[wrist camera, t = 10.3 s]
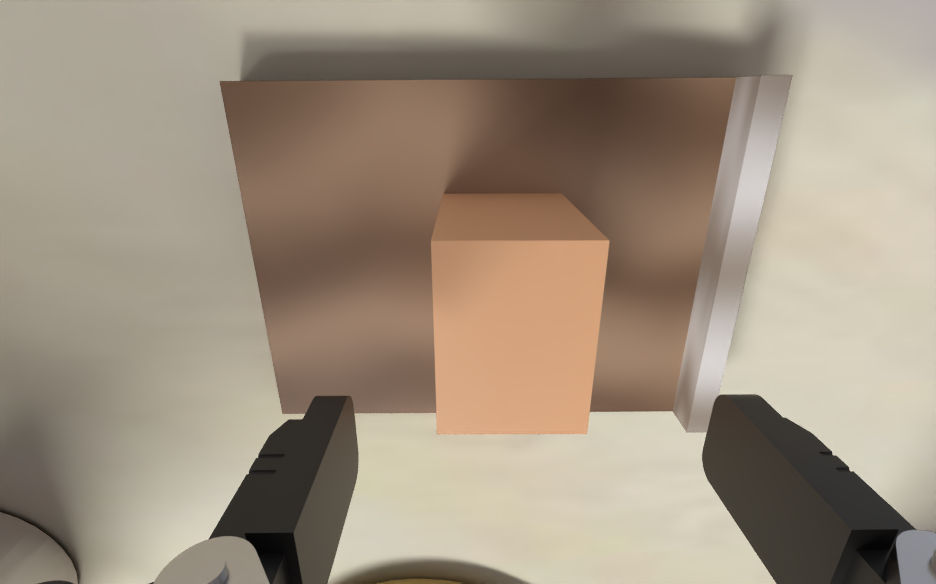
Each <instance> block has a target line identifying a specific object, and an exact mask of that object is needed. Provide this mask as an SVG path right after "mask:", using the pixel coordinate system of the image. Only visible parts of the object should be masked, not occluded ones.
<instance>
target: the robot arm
mask: <svg viewBox="0 0 936 584" xmlns="http://www.w3.org/2000/svg"><path fill="white" fill-rule="evenodd" d="M258 455H259V456H258V458H256V459H255V461H254V463H253V465H252V466H251V468H250V470H249V474H248V475H246V477H245V478H244V480H243V482H242V483H241V485H240V487H239V488H238V490H237V492H236V494H235V495H234V497H233V499H232V500H231V502H230V504H229V505H228V507H227V509H226V511H225V512H224V514H223V516H222V517H221V519H220V521H219V523H218V524H217V526H216V528H215V529H214V531H213V533H212V534H211V536H210V538H209V539H208V540H205V541H203V542H200V543H198V544H196V545H194V546H192V547H190V548H188V549H187V550H185V551H184V552H182V553H181V554H179V555H178V556H177V557H175V558H174V559H173V560H172V561H171V562H170V563H169V564H168V565H167V566H166V567H165V568H164V569H163V570H162V571H161V573H160V574H159V575H158V577H157V578H156V580H155V581H154V582H152V583H150V584H327V583H328V579H329V576H330V572H331V569H332V565H333V562H334V558H335V555H336V551H337V547H338V544H339V540H340V537H341V533H342V530H343V526H344V523H345V519H346V516H347V512H348V508H349V505H350V501H351V498H352V494H353V491H354V487H355V484H356V479H357V473H358V445H357V435H356V425H355V416H354V406H353V400H352V397H351V396H315V397H314V398H313V400H312V402H311V404H310V406H309V408H308V410H307V412H306V414H305V416H304V418H303V419H300V420H288V421H286V422H285V423H284V424H283V425H282V426H280V427H279V428H278V429H277V430H276V431H274V432H273V433H272V434H271V435H270V436H269V437H268V439H267V441H266V442H265V444H264V446H263V448H262V449H261V451H260V453H259V454H258ZM702 461H703V467H704V471H705V474H706V477H707V479H708V481H709V483H710V484H711V486H712V487H713V489H714V490H715V492H716V493H717V495H718V496H719V498H720V499H721V501H722V502H723V504H724V505H725V507H726V508H727V510H728V511H729V513H730V514H731V516H732V517H733V519H734V520H735V522H736V523H737V525H738V526H739V528H740V529H741V531H742V532H743V534H744V535H745V537H746V538H747V540H748V541H749V543H750V544H751V546H752V547H753V549H754V550H755V552H756V553H757V555H758V556H759V558H760V559H761V561H762V562H763V564H764V565H765V567H766V568H767V570H768V571H769V573H770V574H771V576H772V577H773V579H774V580H775V582H776V583H777V584H936V533H935V532H930V531H924V530H916V529H915V528H914V527H913V526H912V525H911V524H910V523H909V522H908V521H906V520H905V519H904V518H903V517H902V516H901V515H900V514H899V513H898V512H897V511H896V510H895V509H893V508H892V507H891V506H890V505H889V504H888V503H887V502H886V501H885V500H884V499H883V498H882V497H880V496H879V495H878V494H877V493H876V492H875V491H874V490H873V489H872V488H871V487H870V486H869V485H867V484H866V483H865V482H864V481H863V480H862V479H861V478H860V477H859V476H858V475H857V474H856V473H854V472H850V471H849V467H848V466H847V465H846V464H845V463H844V462H843V461H841V460H840V459H839V458H838V457H837V456H833V455H832V451H831V450H830V449H828V448H827V447H826V446H825V445H824V444H823V443H822V442H821V441H820V440H819V439H818V438H817V437H816V436H814V435H813V434H812V433H811V432H809V431H807V430H806V429H804V428H802V427H800V426H799V425H797V424H795V423H794V422H792V421H790V420H789V419H787V418H783V417H782V416H781V415H780V414H779V413H778V412H777V411H776V410H774V409H773V408H772V407H771V406H770V405H769V404H768V403H767V402H766V401H765V400H764V399H763V398H762V397H760V396H759V395H719V396H718V397H717V398H716V399H715V401H714V404H713V408H712V413H711V417H710V421H709V426H708V430H707V434H706V439H705V443H704V447H703V453H702ZM0 584H78V580H77V573H76V570H75V568H74V565H73V563H72V561H71V559H70V558H69V557H68V555H67V554H66V553H65V551H64V550H63V549H62V548H61V547H60V546H59V545H58V544H57V543H56V542H55V541H54V540H53V539H52V538H51V537H49V536H48V535H47V534H45V533H44V532H42V531H41V530H39V529H38V528H36V527H35V526H33V525H31V524H29V523H27V522H25V521H23V520H21V519H19V518H16V517H13V516H11V515H8V514H5V513H2V512H0Z"/></svg>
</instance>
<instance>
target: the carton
mask: <svg viewBox="0 0 936 584" xmlns="http://www.w3.org/2000/svg"><path fill="white" fill-rule="evenodd" d="M609 242H610V240H609V239H608V238H607V237H606V236H605V235H604V234H603V233H602V232H600V231H599V230H598V229H597V228H596V227H595V226H594V225H593V224H592V223H591V222H590V221H589V220H588V219H587V218H586V217H585V216H584V215H583V214H582V213H581V212H580V211H579V210H578V209H577V208H576V207H575V206H574V205H573V204H572V203H571V202H570V201H569V200H568V199H567V198H566V197H565V196H564V195H563V194H562V193H507V194H443V196H442V200H441V204H440V208H439V212H438V216H437V219H436V223H435V227H434V231H433V235H432V238H431V259H432V291H433V322H434V353H435V384H436V415H437V434H587V430H588V421H589V413H590V404H591V396H592V387H593V379H594V370H595V362H596V353H597V344H598V336H599V327H600V319H601V310H602V302H603V293H604V285H605V276H606V267H607V259H608V250H609Z"/></svg>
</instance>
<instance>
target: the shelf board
mask: <svg viewBox="0 0 936 584" xmlns="http://www.w3.org/2000/svg"><path fill="white" fill-rule="evenodd" d="M792 76H793V75H759V76H748V77H736V78H605V79H472V80H338V81H220V85H221V91H222V96H223V101H224V107H225V112H226V117H227V122H228V128H229V133H230V138H231V144H232V149H233V154H234V159H235V165H236V170H237V175H238V181H239V186H240V191H241V197H242V202H243V207H244V212H245V218H246V223H247V228H248V234H249V239H250V244H251V249H252V255H253V260H254V265H255V271H256V276H257V281H258V286H259V292H260V297H261V302H262V308H263V313H264V318H265V323H266V329H267V334H268V339H269V345H270V350H271V355H272V360H273V366H274V371H275V376H276V382H277V387H278V392H279V398H280V403H281V408H282V413H283V414H306V412H307V410H308V408H309V406H310V404H311V402H312V400H313V398H314V397H315V396H351V397H352V400H353V406H354V413H436V384H435V353H434V322H433V291H432V259H431V238H432V235H433V231H434V227H435V223H436V219H437V216H438V212H439V208H440V204H441V200H442V196H443V194H507V193H562V194H563V195H564V196H565V197H566V198H567V199H568V200H569V201H570V202H571V203H572V204H573V205H574V206H575V207H576V208H577V209H578V210H579V211H580V212H581V213H582V214H583V215H584V216H585V217H586V218H587V219H588V220H589V221H590V222H591V223H592V224H593V225H594V226H595V227H596V228H597V229H598V230H599V231H600V232H602V233H603V234H604V235H605V236H606V237H607V238H608V239H609V240H610V242H609V250H608V259H607V267H606V276H605V285H604V293H603V302H602V310H601V319H600V327H599V336H598V344H597V353H596V362H595V370H594V379H593V387H592V396H591V404H590V412H622V411H673V412H674V414H675V416H676V417H677V419H678V420H679V422H680V423H681V425H682V426H683V428H684V429H685V431H686V432H707V430H708V426H709V421H710V417H711V413H712V408H713V404H714V401H715V399H716V398H717V397H718V395H719V391H720V387H721V382H722V378H723V374H724V370H725V365H726V361H727V357H728V352H729V348H730V344H731V339H732V335H733V331H734V326H735V322H736V318H737V313H738V309H739V305H740V300H741V296H742V292H743V288H744V283H745V279H746V275H747V270H748V266H749V262H750V257H751V253H752V249H753V244H754V240H755V236H756V231H757V227H758V223H759V218H760V214H761V210H762V206H763V201H764V197H765V193H766V188H767V184H768V180H769V175H770V171H771V167H772V162H773V158H774V154H775V149H776V145H777V141H778V136H779V132H780V128H781V124H782V119H783V115H784V111H785V106H786V102H787V98H788V93H789V89H790V85H791V80H792Z"/></svg>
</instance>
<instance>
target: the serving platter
mask: <svg viewBox="0 0 936 584" xmlns="http://www.w3.org/2000/svg"><path fill="white" fill-rule="evenodd" d="M375 584H465V583H460V582H455V581H448V580H440V579H398V580H391V581H384V582H379V583H375Z"/></svg>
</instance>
